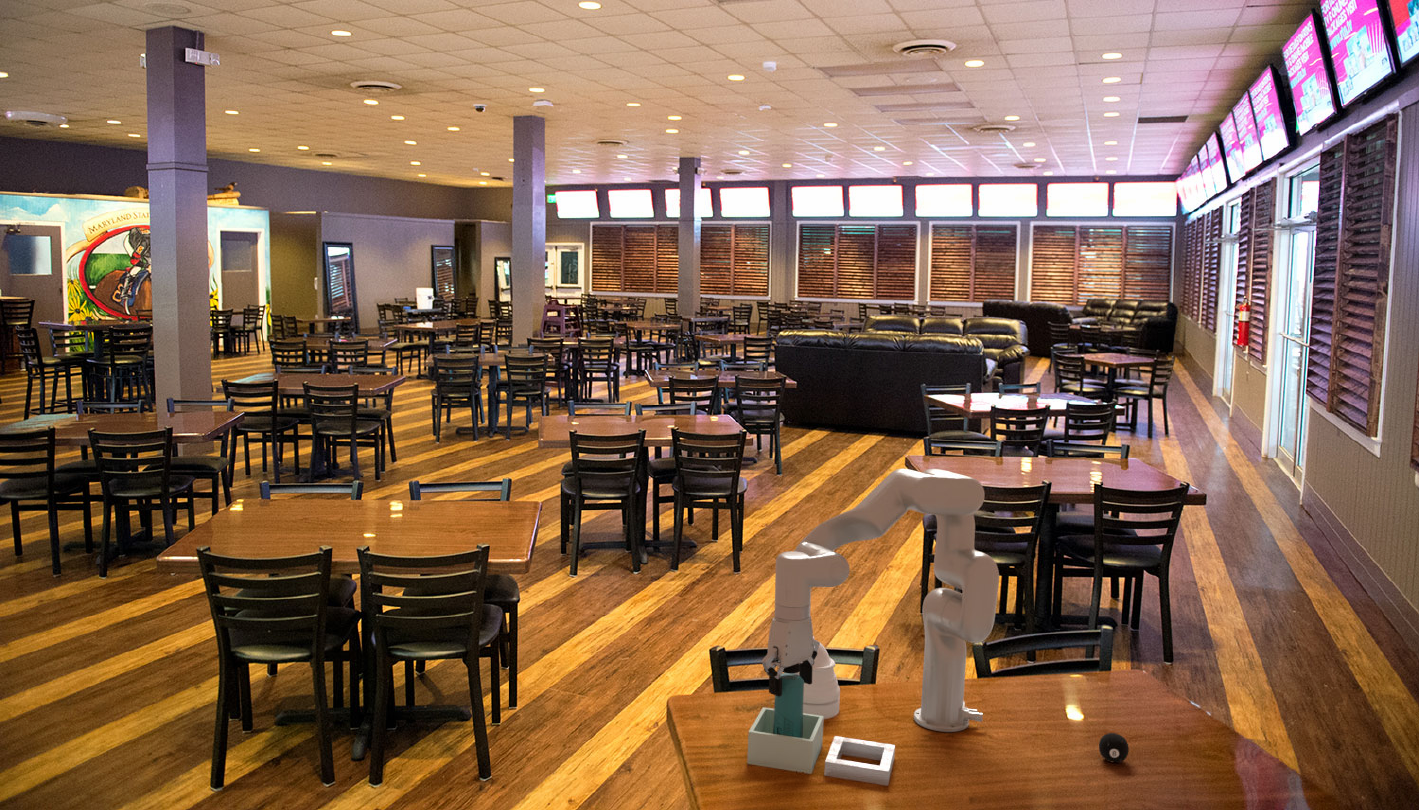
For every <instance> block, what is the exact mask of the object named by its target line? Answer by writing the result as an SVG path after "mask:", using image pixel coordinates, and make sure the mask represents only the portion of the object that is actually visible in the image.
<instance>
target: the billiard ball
mask: <svg viewBox="0 0 1419 810" xmlns="http://www.w3.org/2000/svg"><path fill="white" fill-rule="evenodd" d="M1098 743H1099V744H1098V750H1099V753H1100V755H1101V756H1102V758H1103V759H1104V758H1105V759H1104V760H1106V761H1107V760H1109V761H1108V762H1110V761H1113V762H1118V763H1122V762H1125V760H1126V758H1127V757H1128V755H1129V750H1130V747H1129V744H1128V741H1127V740H1126V738H1125V737H1124V736H1122V735H1120V734H1119V733H1116V732H1113V733H1112V732H1111V733H1110V732H1108V733H1106V734H1104V735H1103V736H1102V737H1100V740H1099V742H1098ZM1113 762H1112V763H1113Z"/></svg>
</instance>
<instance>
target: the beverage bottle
mask: <svg viewBox="0 0 1419 810" xmlns="http://www.w3.org/2000/svg"><path fill="white" fill-rule="evenodd" d="M799 671H800V665H799V663H798V664H795V665H792V666H790V667H787V668H784V670H783V672H782V674H781V676H780V678H782V696H780V697H778V696H776V695H773V696H774V703H773V705H774V708H773V709H774V719H773V720H774V730H773V734H778V735H784V736H791V737H797V738H802V735H803V695H804V680H803V679H802V678H801V677H800V676H799V675H798V674H795V673H798V672H799Z"/></svg>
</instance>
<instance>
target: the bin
mask: <svg viewBox="0 0 1419 810" xmlns="http://www.w3.org/2000/svg"><path fill="white" fill-rule="evenodd" d="M773 719H774V708H770V707H764V706H763V707H762V708H761V709H760V712H759V713H758V716H756V719H755V720H754V722H753V723H752V725H751V727H750V729H749V730H748V736H747V737H748V738H747V758H746V759H747V760H746V761H747V762H746V764H747V765H755V766H758V767H759V766H760V767H765V768H772V769H779V770H785V771H789V772H790V771H791V772H796V771H797V773H802V772H804V773H803V774H809V775H811V774H812V773H813V771H814V768H815V766H816V764H817V763H816V762H817V761H818V758H819V756H820V753H821V751H822V749H823V738H824V737H823V736H824V720H825V719H824V716H820V715H813V714H806V713H803V735H802V738H797V737H791V736H784V735H778V734H773V730H774V720H773Z"/></svg>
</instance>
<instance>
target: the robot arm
mask: <svg viewBox="0 0 1419 810" xmlns="http://www.w3.org/2000/svg"><path fill="white" fill-rule="evenodd" d="M985 495H986V494H985V490H984V487H983V485H982V483H981V482H980V481H979V480H977V479H976V478H974V477H972V476H969V475H968V476H967V475H964V474H961V473H956V472H952V471H949V470H945V469H941V468H929V469H928V468H927V469H926V470H924V471H922V472H921V471H918V470H914V469H909V468H898V469H897V468H896V469H895V470H893V471H891V472H890V473H889V474H888V475H887V476H886V477H885V478H884V479H883V480H882V481H880V483H879V484H877V486H876V487H874V489H873V490H871V492H869V494H867V495H866V496H865V497H864V498H863V499H862V500H861V501H860V502H859V503H858V504H857V505H856V506H855V507H853V508H852V509H848V510H846V511H844V512H842V513H840V514H838V515H835V516H834V517H832V518H829V519H827V520H824V521H823V522H822V523H820V524H819V525H817V526H816V527H815V528H813V529H812V530H811V531H810V532H809V533H808V534H807V535H805V537H804V538H803V539H802V540H801V541H800V542H799V544H797V546H796V547H795V549H794V551H791V550H790V551H784V552H780V553H779V554H778V555H777V557H776V558H775V576H774V577H775V579H774V580H775V583H774V584H775V585H774V586H775V589H774V590H775V591H774V617H772V620H771V622H770V628H769V634H768V641H767V642H768V644H767V654H766V655H765V656H764V657H763V658H762V660H761V663H762V666H763V670H764V672H765V673H766V675H767V676H768V692H769V694H771V695H772V696H774V695H776V696H778V697H780V696H782V678H780V676H781V674H782V673H784V672H783V670H784V668H787V667H790V666H792V665H795V664H798V663H800V662H803V663H800V671H799V676H800V677H801V678H802V679H803V680H804V683H807V684H809V685H810V684H812V666H813V665H814V663H815V661H814V660H815V658H816V656H817V651H818V648H819V645H820V643H821V642H820V641H818V640H817V641H816V639H814V640H813V636H814V632H813V631H814V629H813V622H812V616H811V605H812V603H811V595H812V588H815V587H816V588H833V587H838V586H840V585H841V584H844V583H845V582H846V581H847V579H848V577H849V574H850V563H849V562H848V560H847V559H846V558H845V556H843V555H842V554H840V553H838V552H836V550H837V549H839V548H840V547H842V546H844V545H846V544H849V543H854V542H861V541H870V540H875V539H878V538H879V539H880V538H881V537H883V536H884V535H886V533H887V532H888V531H889V530H890V529H892V527H893V526H894V525H895V524H896V523H897V522H898V521H899V520H900V519H901V518H903V516H904V515H905V514H906V513H907V512H908V511H909V510H912V511H914V512H917V513H920V514H921V513H922V514H924V515H925V514H927V515H934V516H935V518H936V527H937V528H936V541H935V549H934V556H933V557H934V559H933V573H934V575H935V577H936V578H937V579H938V580H939V581H941V582H942V583H945V584H946V585H949V586H952V587H954V588H956V589H958V590H962V593H961V592H960V591H957V590H954V589H951V588H947V587H938V588H934V589H933V590H931V591H930V592H928V593H927V595H926V596H925V597H924V600H923V604H922V620H923V625H924V626H923V627H924V651H923V652H924V654H923V656H924V657H923V668H922V669H923V671H922V673H923V674H922V685H921V705H920V708H917V709H916V710H915V711H914V712H913V720H914V721H915V723H917V725H919V726H921V727H923V728H925V729H928V730H932V731H936V732H942V733H955V732H957V733H958V732H961V731H964V730H965V729H968V727H969V725H970V721H971V720H972V721H975V722H981V723H982V722H983V712H978V709H976V708H975V709H974V708H968V707H967V706H965V704H966V703H965V701H964V697H965V695H964V694H965V680H966V679H965V678H966V665H967V662H966V661H967V644H966V642H969V643H971V644H979V643H982V642H983V641H985V640H986V639H987V638H988V637H990V634H991V632H992V630H993V627H994V625H995V620H996V619H995V618H996V611H997V603H998V593H999V585H1000V584H999V583H1000V573H999V568H998V564H997V562H996V561H995V560H994V558H992V557H991V556H990V555H989V554H987V553H985V552H983V551H979V550H977V549H975V536H976V534H975V533H976V532H975V531H976V522H975V520H976V519H975V516H974V514H975V513H976V512H977V511H979V509H980V508H981V507H982V506H983V503H984V500H985ZM777 667H778V668H777ZM776 668H777V670H776Z"/></svg>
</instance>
